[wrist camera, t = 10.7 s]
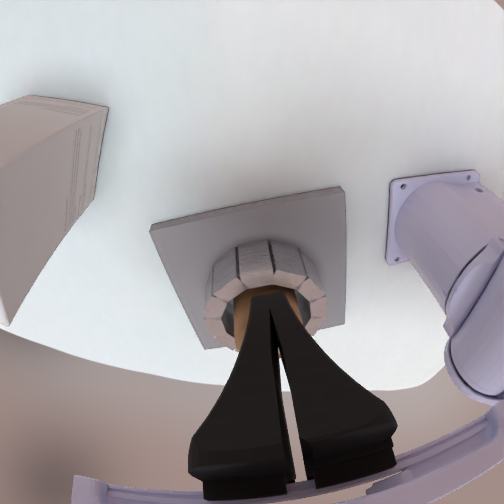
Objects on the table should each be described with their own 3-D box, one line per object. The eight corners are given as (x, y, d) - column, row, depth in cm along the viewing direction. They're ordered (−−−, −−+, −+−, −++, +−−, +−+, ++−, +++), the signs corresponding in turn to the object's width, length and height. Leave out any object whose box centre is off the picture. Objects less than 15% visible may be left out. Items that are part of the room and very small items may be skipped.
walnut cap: (288, 257, 23) (303, 312, 18) (294, 301, 26) (307, 354, 21) (226, 269, 23) (227, 326, 19) (239, 311, 26) (243, 366, 21)
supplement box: (27, 92, 14) (-109, 156, 4) (112, 106, 16) (-20, 182, 6) (19, 182, 18) (-80, 284, 8) (94, 202, 20) (10, 333, 10)
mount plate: (340, 186, 21) (345, 192, 20) (341, 316, 29) (344, 323, 28) (151, 224, 22) (149, 231, 21) (204, 341, 30) (204, 349, 29)
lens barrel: (312, 230, 22) (324, 259, 19) (318, 312, 27) (327, 342, 24) (193, 253, 22) (189, 285, 19) (223, 329, 27) (223, 360, 24)
